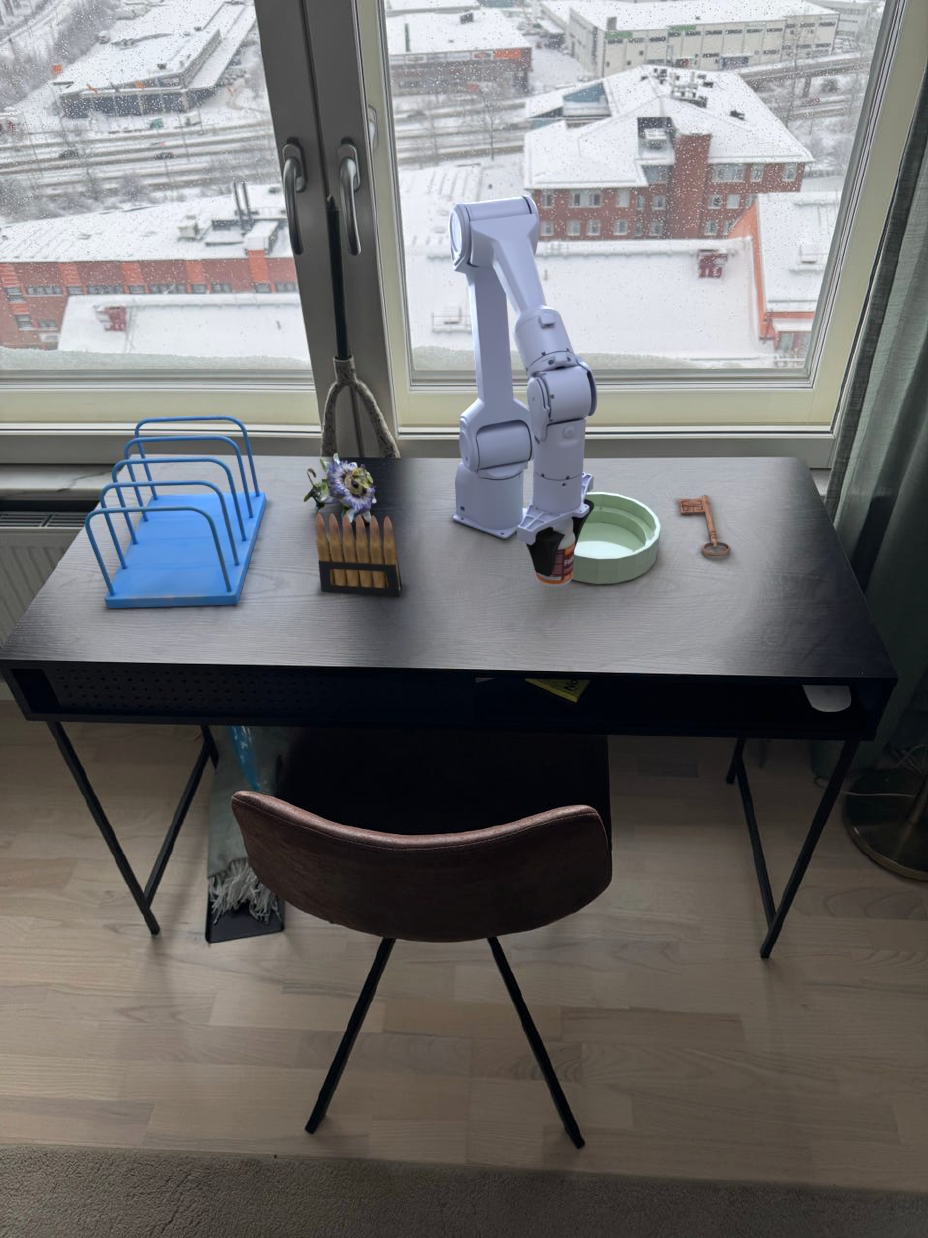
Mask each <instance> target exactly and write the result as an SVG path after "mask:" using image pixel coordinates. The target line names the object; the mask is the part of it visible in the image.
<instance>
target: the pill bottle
mask: <svg viewBox="0 0 928 1238" xmlns="http://www.w3.org/2000/svg"><path fill="white" fill-rule="evenodd" d="M551 527H553V530H554V531H556V532H559V533H562V534H565V536H564V538H563V539H562V541H561V543H560V545H559V547H558V550H557V554H556V559H555V565H554V569H553V572H552V574H551V575H550V576H549V577H547V576H544V575H542V574H539V573H537V572H535V571H534V572H535V574H534V575H535V578H536V580H537V581H538V582H539V583H540V584H542V585H544V586H547V587H552V588H557V587H563V586H565V585H568V584H569V583H570V582H571V581H572V580H573V579H572V577H573V567H574V550H575V535H574V533H573V520H572V518H568V519H566V520H564V521H561V522H559V523H557V524H555V525H552V526H551Z"/></svg>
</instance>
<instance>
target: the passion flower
mask: <svg viewBox="0 0 928 1238" xmlns="http://www.w3.org/2000/svg"><path fill="white" fill-rule="evenodd" d="M331 461H332V463H331V462H330V461H329V462H328V461H327V460H326V458H320V459H319V462H320V465H321V467H322V470H323V471H324V474H325V476H326V478H321V481H317V482H314V481H313V479H312V478H311V475H310V473H311V474H312V477H313V478H314V479H317V473H316V472H315V470H314V468H312V467H310V468H309V467H308V469H307V471H306V475H307V477H308V479H309V482H310V484H311V486H312V488H311V489H310V490H309V492H308V493H306V495H305V496H304V498H303V502H304V503H306V502H307V501H308V500H310V499H311V498H313V500H314V502H315V509H314V510H315V516H317V513H319V511H320V510H321V509H323V508H324V507H325V505H334V504H337V503H339V504H341V505H342V507H343V509H342V512H341V515H340V516H341V517H340V520H341V522H343V517H344V515H345V514H346V515H347V516H348V518H349V520H350V523H351V524H353V525H355V526H356V520H357V517H358V515H360V516H361V517H362V519H363V522H364V523H366V524H370V520H371V517H372V515H371V512H370V510H371V508H372V505H376V504H377V499H376V497H375V492H376V489H375V488H376V487H377V485H374V484H373V483H374V480H373V478H372V476H371V474H370V472H369V471H367V470H366V466H365V464H363V463H362V464H361V465H360V466H359V467H358V463H357V462H352V461H351V462H349V459H348V460H345V461H344V460H342V461H341V460H340V457H339V454H338V453H334V454H333V457H332V460H331Z"/></svg>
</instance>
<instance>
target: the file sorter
mask: <svg viewBox="0 0 928 1238" xmlns="http://www.w3.org/2000/svg"><path fill="white" fill-rule="evenodd" d="M194 421H195V422H196V421H197V422H198V421H229V422H232V423H234V424H236V425H237V426H238V428H240V430H241V432H242V437H243V440H244V444H245V449H246V454H247V459H248V463H249V468H250V474H251V478H252V483H253V488H254V491H249V487H248V482H247V478H246V477H247V476H246V472H245V467H244V462H243V459H242V458H243V457H242V454H241V451H240V448H239V445H237V443H236V442H235V441H234V440H232V439H231V438H229V437H227V436H224V435H220V434H208V435H207V434H205V435H202V434H201V435H200V434H199V435H172V436H171V435H168V436H146V437H145V436H143V437H141V436H140V428H141V427H142V426H143V425H145V424H149V423H169V422H170V423H171V422H194ZM134 437H135V438H132V439H131V440H129V441H128V442H127V444H126V445H125V446H124V450H123V457H124V459H121V460H120V461H118V462H117V463H115V465H114V466H113V468H112V470H111V479H112V482H111V483H109V484H106V485H105V486H104V487H103V488H102V489H101V491H100V493H99V495H98V497H99V503H100V507H101V508H96V509H93V510H92V511H90V512H89V513H88V514H87V516H86V517H85V520H84V529H85V532H86V534H87V537H88V540H89V543H90V545H91V548H92V551H93V553H94V556H95V558H96V562H97V564H98V566H99V569H100V571H101V574H102V577H103V579H104V582H105V585H106V587H107V591H106V594H105V596H104V602H105V605H106V608H107V609H124V608H125V609H126V608H127V609H128V608H154V607H155V608H156V607H188V606H189V607H190V606H219V605H220V606H221V605H223V606H224V605H237V604H238V603H239V600H240V597H241V593H242V589H243V586H244V581H245V578H246V574H247V571H248V567H249V565H250V561H251V558H252V555H253V550H254V546H255V543H256V539H257V537H258V532H259V528H260V526H261V521H262V518H263V515H264V511H265V508H266V504H267V502H268V501H267V495H266V492H265V491H260V489H259V482H258V479H257V473H256V468H255V464H254V458H253V455H252V448H251V444H250V440H249V435H248V431H247V428H246V427H245V424H244V423H243V422H242V421H240V420H239V419H238V418H236V417H235V416H231V415H223V414H222V415H221V414H219V415H216V414H215V415H186V416H185V415H183V416H161V417H158V416H157V417H146V418H143V419H141V420H140V421H139V422H138V423H137V424H136V427H135V429H134ZM188 441H221V442H225V443H227V444H229V446H231V447H232V449H234V453H235V456H236V459H237V463H238V468H239V473H240V478H241V483H242V488H243V492H241V491H240V492H237V490H236V486H235V482H234V479H233V475H232V471H231V469H230V467H229V466H228V465H227V464H226V462H224V461H222V460H221V459H219V458H217V457H214V456H185V457H184V456H183V457H182V456H181V457H180V456H179V457H153V458H151V457H150V458H146V454H145V450H144V447H143V444H142V443H158V442H188ZM134 444H136V445H137V448H138V452H139V455H140V458H132V459H131V458H130V453H129V450H130V448H131V447H132V446H133V445H134ZM170 463H172V464H173V463H175V464H176V463H177V464H178V463H213V464H216V465H218V466H220V467H221V468H223V470H224V472H225V474H226V476H227V481H228V485H229V489H230V492H222V490H221V489H220V488H219V487H218V486H217V485H216V484H215V483H213V482H210V481H208V480H205V479H179V480H177V479H174V480H173V479H172V480H153V477H152V475H151V471H150V468H149V465H148V464H170ZM133 465H143V468H144V471H145V475H146V478H147V480H144V481H137V479H136V475H135V472H134V468H133ZM123 466H126V468H127V471H128V474H129V477H130V481H121V482H120V481H119V480H118V477H117V472H118V470H119V468H121V467H123ZM173 486H174V487H175V486H205V487H207V488H210V489H211V490H213V491H214V493H211V492H210V493H187V494H185V493H184V494H157V491H156V487H173ZM143 487H144V488H145V487H147V488H148V487H149V488H150V492H151V494H152V495H151V496H150V499H149V500H148V503H147V504H146V506H145V505H144V502H143V499H142V495H141V491H140V488H143ZM121 488H133V490H134V493H135V496H136V499H137V503H138V506H126V501H125V498H124V496H123V492H122V489H121ZM112 489H114V490H115V493H116V496H117V498H118V501H119V505H120V507H108V506H107V504H106V500H105V495H106V493H107V492H108V491H109V490H112ZM129 513H141V517H140V519H139V522H138V523H137V526H136V528H135V530H134V527H133V524H132V521H131V518H130V514H129ZM110 514H123V517H124V520H125V523H126V526H127V529H128V532H129V534H130V537H131V539H130V541H129V543H128V545H127V548H126V550H125V552H124V553H123V551H122V548H121V546H120V543H119V539H118V536H117V534H116V531H115V528H114V525H113V522H112V519H111V516H110ZM98 515H103V516H104V519H105V522H106V525H107V527H108V528H107V529H108V531H109V534H110V537H111V539H112V543H113V545H114V548H115V552H116V555H117V557H118V559H119V565H118V568H117V570H116V572H115V574H114V577H113V578H112V581H111V579H110V576H109V573H108V571H107V567H106V564H105V563H104V560H103V557H102V554H101V552H100V549H99V547H98V544H97V540H96V539H95V535H94V533H93V530H92V527H91V519H92V518H93V517H95V516H98Z"/></svg>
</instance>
